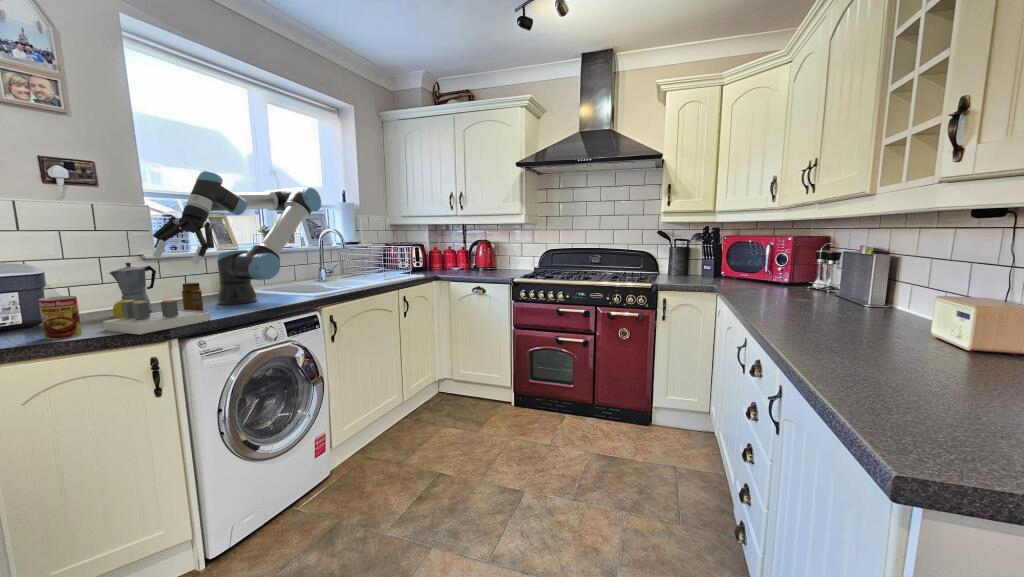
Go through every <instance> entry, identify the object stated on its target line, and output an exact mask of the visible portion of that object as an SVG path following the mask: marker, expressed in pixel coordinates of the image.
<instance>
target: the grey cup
mask: <svg viewBox="0 0 1024 577" xmlns="http://www.w3.org/2000/svg"><path fill="white" fill-rule="evenodd" d="M132 309H133V316H134V319H143V318H149V317H150V314H151V311H149V305H148V302H146V301H136V302H133V303H132Z"/></svg>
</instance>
